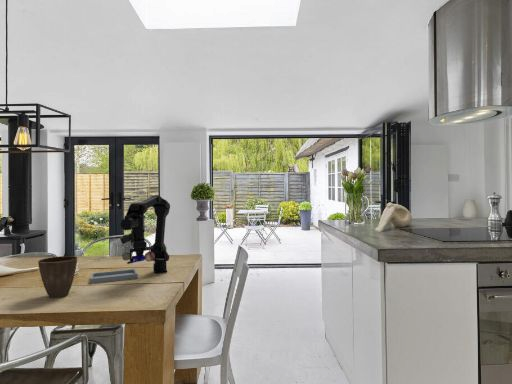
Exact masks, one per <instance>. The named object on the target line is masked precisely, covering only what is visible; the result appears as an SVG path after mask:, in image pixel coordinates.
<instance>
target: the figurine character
mask: <svg viewBox="0 0 512 384" xmlns="http://www.w3.org/2000/svg"><path fill="white" fill-rule="evenodd" d="M151 250H154V247H153V246H151V245H150V246H147V247H146V248H145V250H144V252H146V251H147V252H146V253H143V255H142V258H141V260H140V261H138V258H137V256H136V255H134V256H133V255H132V253H136V250H135V249H133V248H129V252H128V251H124V252H123V253H122V254H121V257H122V260H123V261H125V262H126V264H127V265H129V264H134V263H138V262H143V261H146V262H149V263H150V262H154V261H153V260H154V258H155V255H154V253H153V252H150V251H151Z"/></svg>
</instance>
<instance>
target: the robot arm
mask: <svg viewBox="0 0 512 384" xmlns="http://www.w3.org/2000/svg"><path fill="white" fill-rule="evenodd" d="M151 207H152V208H153V209H154V214H155V216H156V222H155V224H156V225H155V233H154V234H155V236H154V243H153V244H152V245H150V246H153V247H154V250H149V252H153V253H154V255H155V258H154V260H153V261H152V262H153V263H152V267H153V272H154V273H155V274H159V273H166V272H167V273H168V269H167V268H168V267H167V262H169V260H170V255H169V253H168V252H167V246H166V244H165V232H166V231H165V230H166V219H167V217H168V215H169V213H170V209H171V204H170V202H169V201H168V200H167V199H164V198H162V196H160V195H151V196H150V197H148V198H146V199H144V200H142V201H138V202H136V201H135V202H132V203H130V204H129V206H128V209H127V212H126V214H125V215H124V218H123V219H122V220H121V221H120V227H121V229H122V230H123V231H129V230H130V232H129V233H128V234H125V235H122V236H119V240H120V241H121V244H122V245H125V244H126V243H129V242H130V244H131V247H132V249H135V250H136V252H135V256H137V258H138V261H139V262H141V261H140V260H141V258H142V255H143V254H145V253H144V252H145V251H144V250H145V248H146V247H148V243H147V241H145V231H146V230H145V219H147V217H146V215H145V214H146V213H147V212H148V209H149V208H151Z"/></svg>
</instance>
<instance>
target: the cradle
mask: <svg viewBox="0 0 512 384" xmlns="http://www.w3.org/2000/svg"><path fill="white" fill-rule="evenodd" d="M138 274H139V273H138V271H137V268H131V269H122V270H111V271H102V272H100V271H99V272H92V273H91V275H90V284H91V285H92V284H100V283H110V282H111V281H112V282H120V281H129V280H130V281H131V280H136V279H139V275H138Z"/></svg>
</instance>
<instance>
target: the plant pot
mask: <svg viewBox="0 0 512 384" xmlns="http://www.w3.org/2000/svg"><path fill="white" fill-rule="evenodd" d="M77 262H78V256H75V255H68V256H67V255H64V256H60V255H59V256H52V257H46V258H42V259H39V260H38V261H37V265H38V269H39V274H40V278H41V281H42V285H43V287H44V290H45V292H46V294H47V295H48V298H50V299H51V298H52V299H56V298H57V299H58V298H62V297H63V298H64V297H66V296H68V295H69V294H70V291H71V288H72V285H73V283H74V278H75V274H76V269H77V264H78V263H77Z"/></svg>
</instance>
